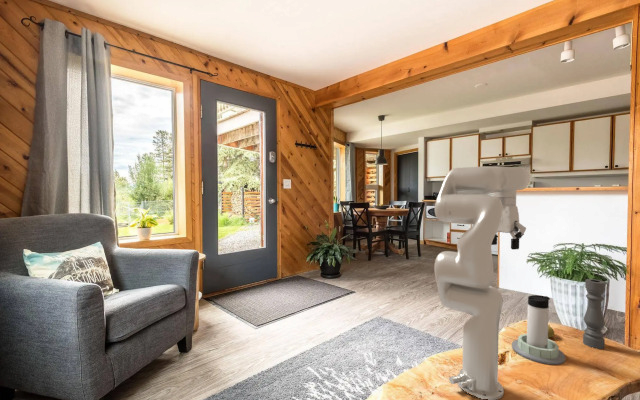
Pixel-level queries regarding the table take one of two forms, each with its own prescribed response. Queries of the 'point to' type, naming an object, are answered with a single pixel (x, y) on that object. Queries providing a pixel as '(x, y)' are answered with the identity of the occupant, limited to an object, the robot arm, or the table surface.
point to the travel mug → (538, 321)
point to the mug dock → (540, 360)
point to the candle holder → (594, 314)
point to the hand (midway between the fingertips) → (503, 246)
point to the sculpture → (550, 332)
